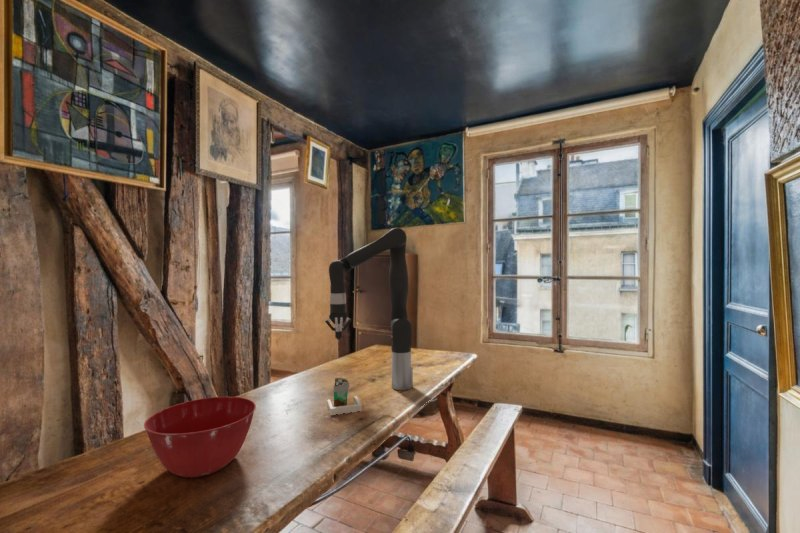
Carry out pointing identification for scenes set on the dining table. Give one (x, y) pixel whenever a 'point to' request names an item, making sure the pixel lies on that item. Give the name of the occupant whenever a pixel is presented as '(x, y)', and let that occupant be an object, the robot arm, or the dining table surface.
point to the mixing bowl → (200, 434)
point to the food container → (340, 392)
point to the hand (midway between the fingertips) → (338, 339)
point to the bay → (345, 407)
